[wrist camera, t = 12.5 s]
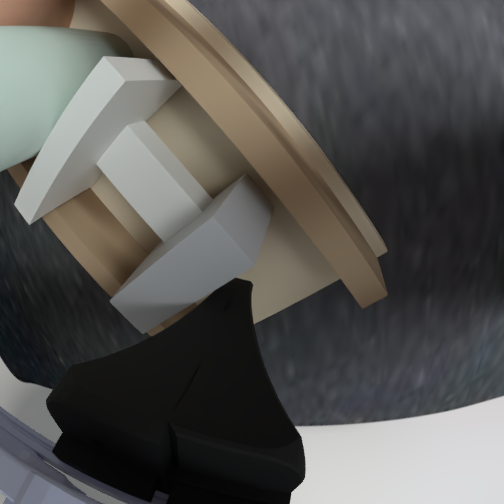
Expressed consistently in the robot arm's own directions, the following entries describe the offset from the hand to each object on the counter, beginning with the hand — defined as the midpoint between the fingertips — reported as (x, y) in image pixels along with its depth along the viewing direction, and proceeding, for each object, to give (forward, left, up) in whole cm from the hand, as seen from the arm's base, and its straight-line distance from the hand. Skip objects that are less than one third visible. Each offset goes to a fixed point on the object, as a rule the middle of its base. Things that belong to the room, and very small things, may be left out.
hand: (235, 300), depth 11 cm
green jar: (+10, 0, -2) cm, 10 cm away
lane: (+9, 0, -3) cm, 9 cm away
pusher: (+5, 0, -2) cm, 5 cm away
